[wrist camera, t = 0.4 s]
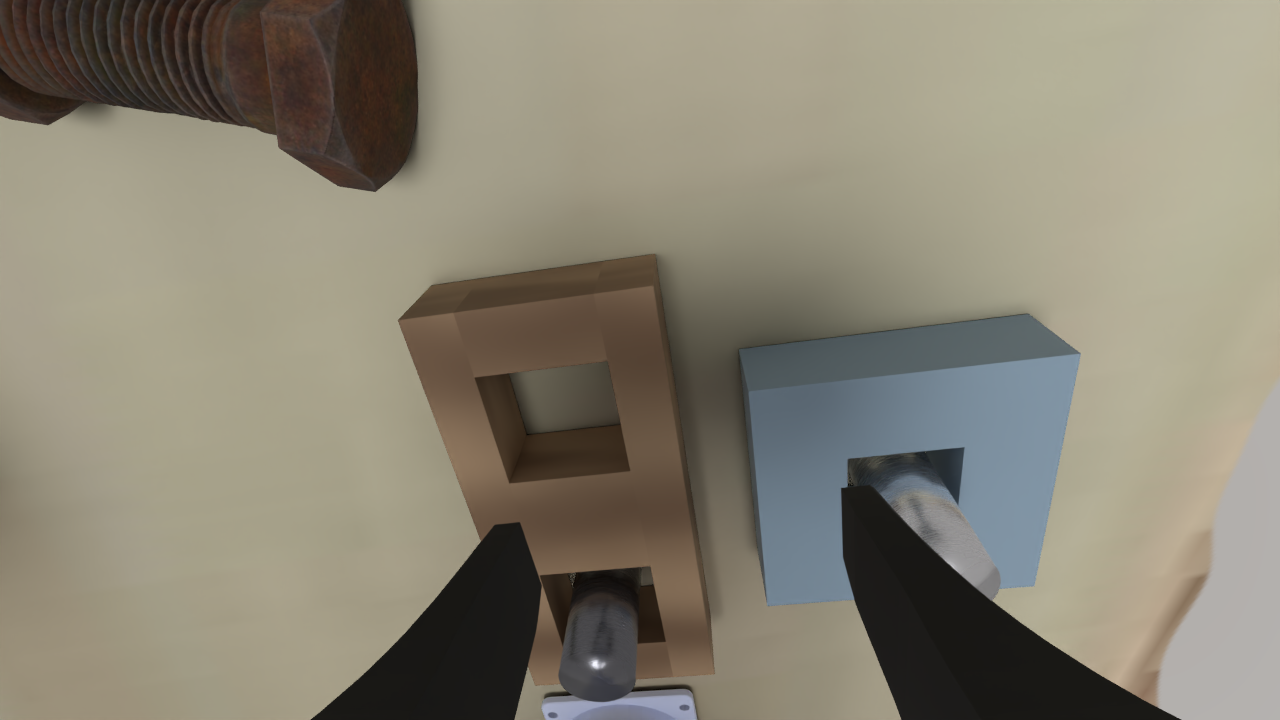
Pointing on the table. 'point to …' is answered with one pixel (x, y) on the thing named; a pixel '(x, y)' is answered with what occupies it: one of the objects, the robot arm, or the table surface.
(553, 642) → the rack
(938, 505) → the steel pin
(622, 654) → the black pin
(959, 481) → the socket block
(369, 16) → the bolt
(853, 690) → the table surface
